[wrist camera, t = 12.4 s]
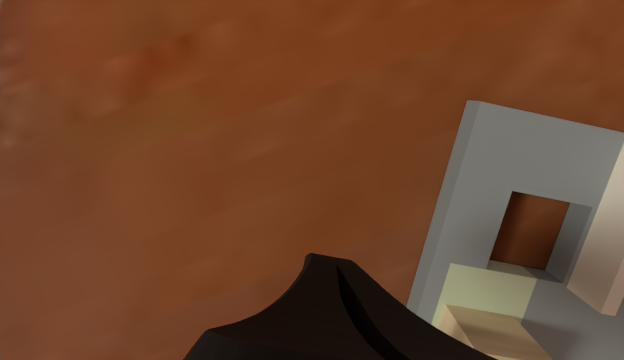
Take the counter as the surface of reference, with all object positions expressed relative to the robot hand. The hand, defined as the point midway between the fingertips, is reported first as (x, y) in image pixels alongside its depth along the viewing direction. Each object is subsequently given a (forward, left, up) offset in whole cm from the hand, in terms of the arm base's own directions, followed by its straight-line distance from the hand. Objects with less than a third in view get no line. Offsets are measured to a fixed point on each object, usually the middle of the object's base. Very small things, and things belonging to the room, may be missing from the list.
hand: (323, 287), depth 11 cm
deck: (-1, -16, -10) cm, 19 cm away
